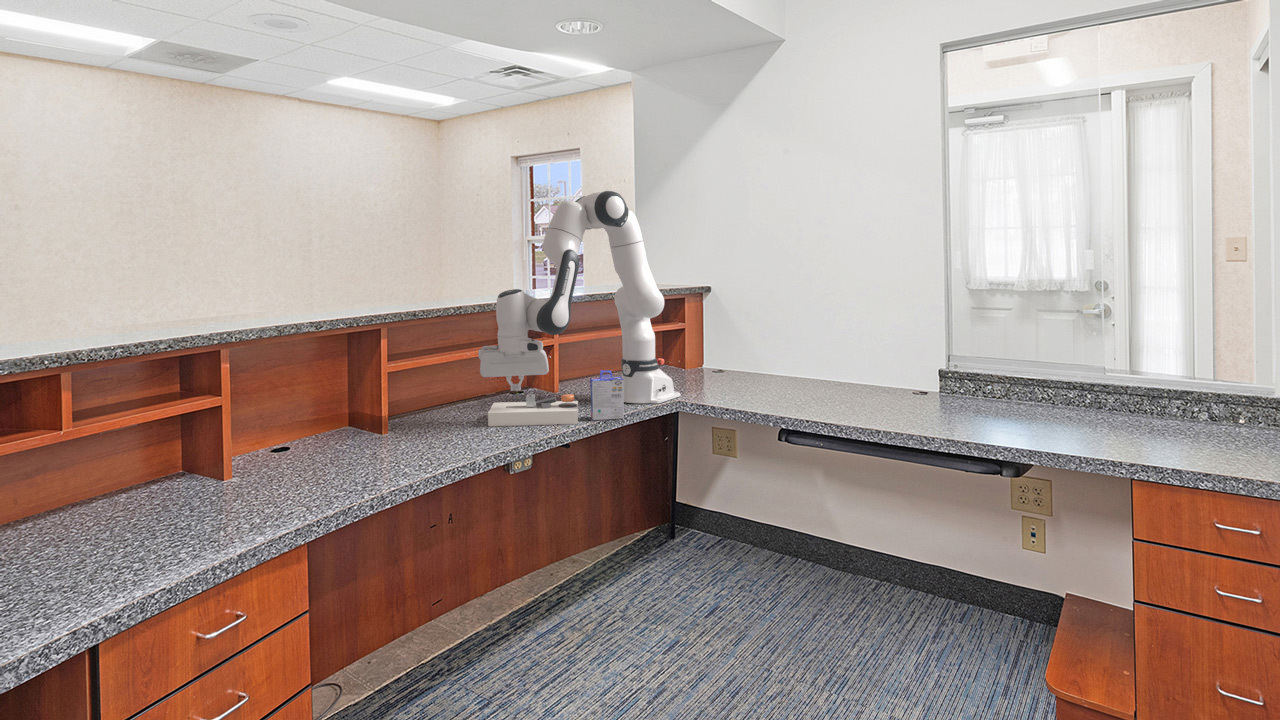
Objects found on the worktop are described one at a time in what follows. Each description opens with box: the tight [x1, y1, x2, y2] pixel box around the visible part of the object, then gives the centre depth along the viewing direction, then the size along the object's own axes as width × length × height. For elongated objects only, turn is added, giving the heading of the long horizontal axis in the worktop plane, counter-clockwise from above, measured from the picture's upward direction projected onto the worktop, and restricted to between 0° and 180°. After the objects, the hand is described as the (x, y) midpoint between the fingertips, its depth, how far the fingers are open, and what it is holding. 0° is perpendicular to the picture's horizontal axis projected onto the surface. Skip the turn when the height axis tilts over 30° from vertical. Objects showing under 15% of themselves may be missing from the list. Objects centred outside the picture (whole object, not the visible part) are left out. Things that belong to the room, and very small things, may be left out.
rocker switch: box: [535, 396, 557, 407], centre depth 218 cm, size 6×4×1 cm, turn 93°
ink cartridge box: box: [589, 369, 625, 421], centre depth 219 cm, size 10×6×14 cm, turn 102°
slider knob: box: [525, 392, 536, 407], centre depth 217 cm, size 2×4×3 cm, turn 4°
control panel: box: [487, 400, 579, 427], centre depth 218 cm, size 26×14×6 cm, turn 94°
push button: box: [560, 393, 575, 402], centre depth 218 cm, size 4×4×2 cm
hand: (515, 390), depth 217 cm, fingers closed
